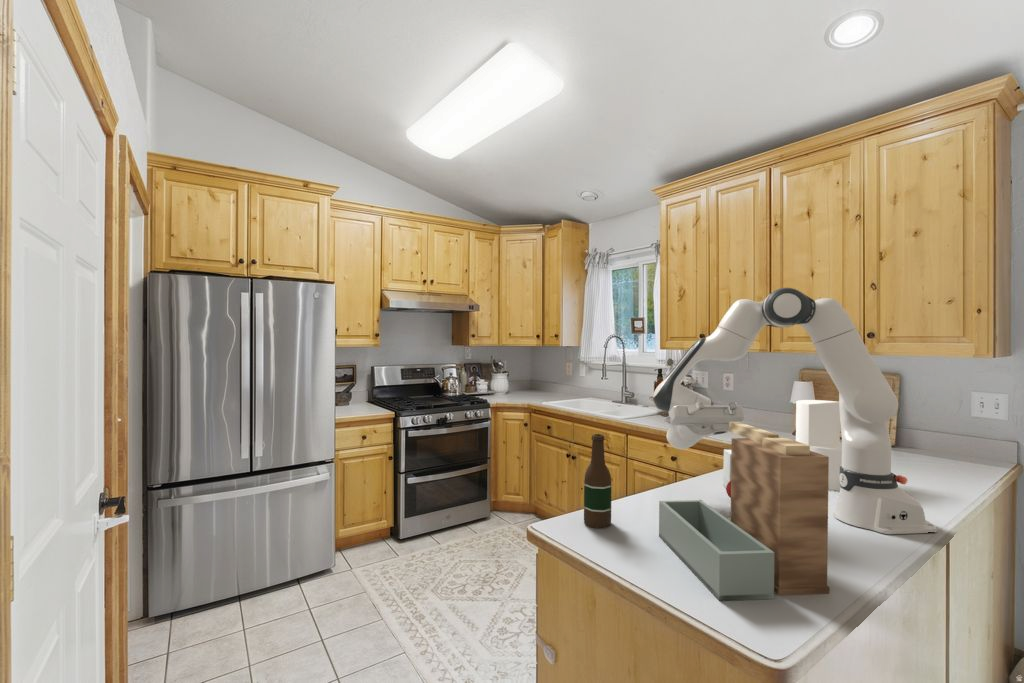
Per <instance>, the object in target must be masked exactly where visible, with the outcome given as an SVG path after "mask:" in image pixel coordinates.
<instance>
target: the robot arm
mask: <svg viewBox="0 0 1024 683" xmlns="http://www.w3.org/2000/svg"><path fill="white" fill-rule="evenodd" d="M795 325H798V326H800V327H802V328H803V329H804V330H805V331H806V332H807V334H808V336H809V339H810V341H811V342H812V345H813V348H814V349H815V350H816V354H818V357H819V360H820V361H821V363H822V364H823V367H824V369H825V370H826V372H827V374H828V375H829V377H830V378H831V381H832V382H833V384H834V385H835V387H836V389H837V392H839V394H838V402H839V409H840V435H841V442H842V466H840V473H839V482H840V491H839V495H838V501H837V504H836V508H835V511H834V512H833V513H834V514H833V516H834V517H835V518H836V519H837V520H839V521H841V522H843V523H845V524H847V525H852V526H854V527H858V528H862V529H867V530H871V531H874V532H877V533H880V534H885V535H903V534H906V535H907V534H908V535H909V534H929V533H928V532H935V533H937V531H938V530H937V527H936V526H935V525H934V524H933V523H931V522H930V521H928V520H926V516H925V511H924V508H923V506H922V505H921V504H920V502H919V501H918V500H916V499H915V498H914V497H912V496H911V495H909V494H908V493H907V492H906V491H904V490H903V489H902V488H900V487H899V485H898V483H899V484H900V485H906V484H907V483H908V478H907V477H906V476H902V475H899V474H898V475H897V474H895V473H893V472H892V442H891V437H890V433H889V424H888V421H890V420H891V419H893V418H894V417H895V416H896V414H897V413H898V409H899V400H898V398H897V396H896V394H895V392H894V391H893V389H892V387H891V386H890V384H889V382H888V381H887V379H886V377H885V375H884V374H883V372H882V370H880V367H879V366H878V365H877V363H876V362H875V360H874V359H873V357H872V356H871V354H870V352H869V350H868V348H867V347H866V345H865V343H864V341H863V339H862V337H861V335H860V333H859V330H858V329H857V327H856V325H855V323H854V322H853V320H852V318H851V317H850V316H849V314H848V313H847V311H846V310H845V308H843V306H842V305H841V304H840V302H839V301H837V300H836V299H834V298H831V297H822V298H818V299H815V300H814V299H813V298H812V297H809V296H808V295H806V294H805V293H804V292H802V291H800V290H798V289H796V288H794V287H793V288H792V287H781V288H778V289H775V290H774V291H772V292H771V293H769V294H768V295H767V297H766V298H764V299H763V300H762V301H755V300H752V299H748V298H741V299H738V300H736V301H735V302H733V304H732V305H731V306H730V307H729V309H727V311H726V313H724V316H723V317H722V318H721V320H720V322H719V324H718V326H717V327H716V329H715V330H714V331H713V332H712V333H711V334H709V335H708V336H706V337H701V338H698V339H697V340H696V341H695V342H694V343H693V344H692V345H691V346H689V347H690V348H688V349H687V351H686V352H685V353H684V354H683V356H682V357H681V358H680V360H679V361H678V362H677V363H676V364H675V365H674V367H673V368H672V370H670V372H669V374H667V376H666V377H665V378H664V379H663V380H662V381H661V382H660V383H659V384H658V385H657V386H656V388H655V390H654V392H653V395H652V401H653V403H654V405H655V407H656V408H657V409H658V410H661V412H662V411H663V412H665V413H668V416H665V418H664V423H667V424H670V426H669V428H668V429H667V431H666V440H667V442H668V444H670V445H671V446H672V447H673V448H675V449H677V450H686V449H689V448H690V447H693V446H694V445H696V444H697V443H698V442H700V440H703V439H704V438H708V437H710V436H714V435H722V434H727V433H730V432H729V422H741V423H743V421H744V420H745V419H746V415H745V414H746V413H745V410H744V407H743V406H742V405H739V404H738V402H730V403H728V405H715V404H714V402H713V401H712V399H711V398H709V397H707V396H705V395H704V394H701V393H699V392H697V391H694V390H692V389H690V388H689V387H686V386H684V385H682V384H681V382H682V381H683V380H684V378H685V377H686V376H687V375H688V374H689V373H690V371H691V370H692V368H693V367H694V366H695V365H697V363H699V362H702V361H715V362H716V361H717V362H733V361H734V362H735V361H737V360H740V359H741V358H744V357H745V355H747V353H748V352H749V350H750V349H751V347H752V345H753V343H754V341H755V340H756V338H757V336H758V335H759V333H760V332H761V330H763V328H764V327H766V326H767V327H774V328H791V327H793V326H795Z"/></svg>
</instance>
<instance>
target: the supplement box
mask: <svg viewBox="0 0 1024 683" xmlns="http://www.w3.org/2000/svg"><path fill="white" fill-rule="evenodd" d="M722 470H723V472H722V473H723V479H722V480H723V483H722V486H723V487H724V488H725V489H726V486H727V484H728V483H729V482H730V481H731V449H727V448H726V449H723V469H722Z"/></svg>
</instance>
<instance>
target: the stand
mask: <svg viewBox="0 0 1024 683" xmlns="http://www.w3.org/2000/svg"><path fill="white" fill-rule="evenodd" d="M730 450H731V498H730V521H731V522H733V523H734V524H735V525H737V526H738V527H740V528H741V529H742V530H744V531H745V532H746V533H748V534H749V535H751V536H752V537H753V538H755V539H756V540H758V541H759V542H760V543H762V544H763V545H765V546H766V547H767V548H769V549H770V550H772V551H773V552H774V594H776V595H778V596H795V595H796V596H797V595H800V596H801V595H819V594H820V595H823V594H824V595H825V594H827V595H828V594H830V592H831V590H830V589H831V587H830V586H828V545H829V544H828V541H829V540H828V538H829V536H828V534H829V490H828V474H829V457H828V456H825V455H822V454H819V453H816V452H813V451H810V455H785V454H783V453H780V452H777V451H775V450H772V449H769V448H767V447H764V446H762V443H759V442H756V441H754V440H751V439H748V438H746V437H740V438H739V437H738V438H737V437H731V448H730Z"/></svg>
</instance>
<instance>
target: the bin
mask: <svg viewBox="0 0 1024 683" xmlns="http://www.w3.org/2000/svg"><path fill="white" fill-rule="evenodd" d="M658 503H659V504H658V506H659V507H658V509H659V511H658V517H659V518H658V537H659V538H660V539H661V540H662V541H663V542H664V544H665V545H666V546H667V547H668V546H669V549H670V550H671V551H672V552H673V553H674V554H675V555H676V557H677V558H678V559H679V560H681V562H682V563H683V564H684V565H685V566H686V567H687V568H688V569H689V570H690V571H691V572H692V573H693V575H694V576H695V577H697V579H698V580H699V581H700V582H701V584H703V585H704V587H706V589H707V590H708V591H709V592H710V593H711V594H712V595H713V596H714V597H715V599H716V600H718V601H719V602H726V601H727V602H728V601H751V600H752V601H753V600H755V601H756V600H774V599H775V592H774V552H773V551H772V550H770V549H769V548H767V547H766V546H765V545H763V544H762V543H760V542H759V541H758V540H756V539H755V538H753V537H752V536H751V535H749V534H748V533H746V532H745V531H744V530H742V529H741V528H740V527H738V526H737V525H735V524H734V523H733V522H731V519H728V518H727V517H726V516H724V515H723V514H721V513H720V512H719V511H717V510H716V509H714V508H713V507H712V506H710V505H709V504H707V503H706V502H704V501H703V500H701V499H692V500H691V499H690V500H689V499H687V500H683V499H682V500H681V499H679V500H659V502H658Z"/></svg>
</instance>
